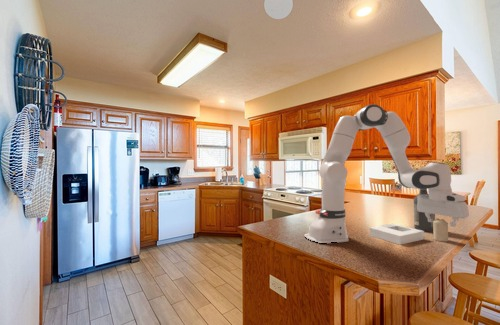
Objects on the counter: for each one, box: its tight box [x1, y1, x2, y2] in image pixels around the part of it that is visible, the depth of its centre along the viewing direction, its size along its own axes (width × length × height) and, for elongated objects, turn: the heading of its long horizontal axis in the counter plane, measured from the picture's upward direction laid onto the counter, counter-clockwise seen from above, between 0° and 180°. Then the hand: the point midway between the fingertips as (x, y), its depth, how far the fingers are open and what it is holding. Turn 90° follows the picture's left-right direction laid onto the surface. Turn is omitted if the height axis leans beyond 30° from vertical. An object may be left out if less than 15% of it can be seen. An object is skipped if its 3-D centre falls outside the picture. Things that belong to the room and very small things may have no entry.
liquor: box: [413, 189, 436, 233], centre depth 129 cm, size 9×9×30 cm
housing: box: [369, 223, 425, 246], centre depth 117 cm, size 18×16×4 cm
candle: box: [432, 218, 449, 243], centre depth 112 cm, size 6×6×10 cm
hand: (441, 224), depth 112 cm, fingers open, 8 cm apart
